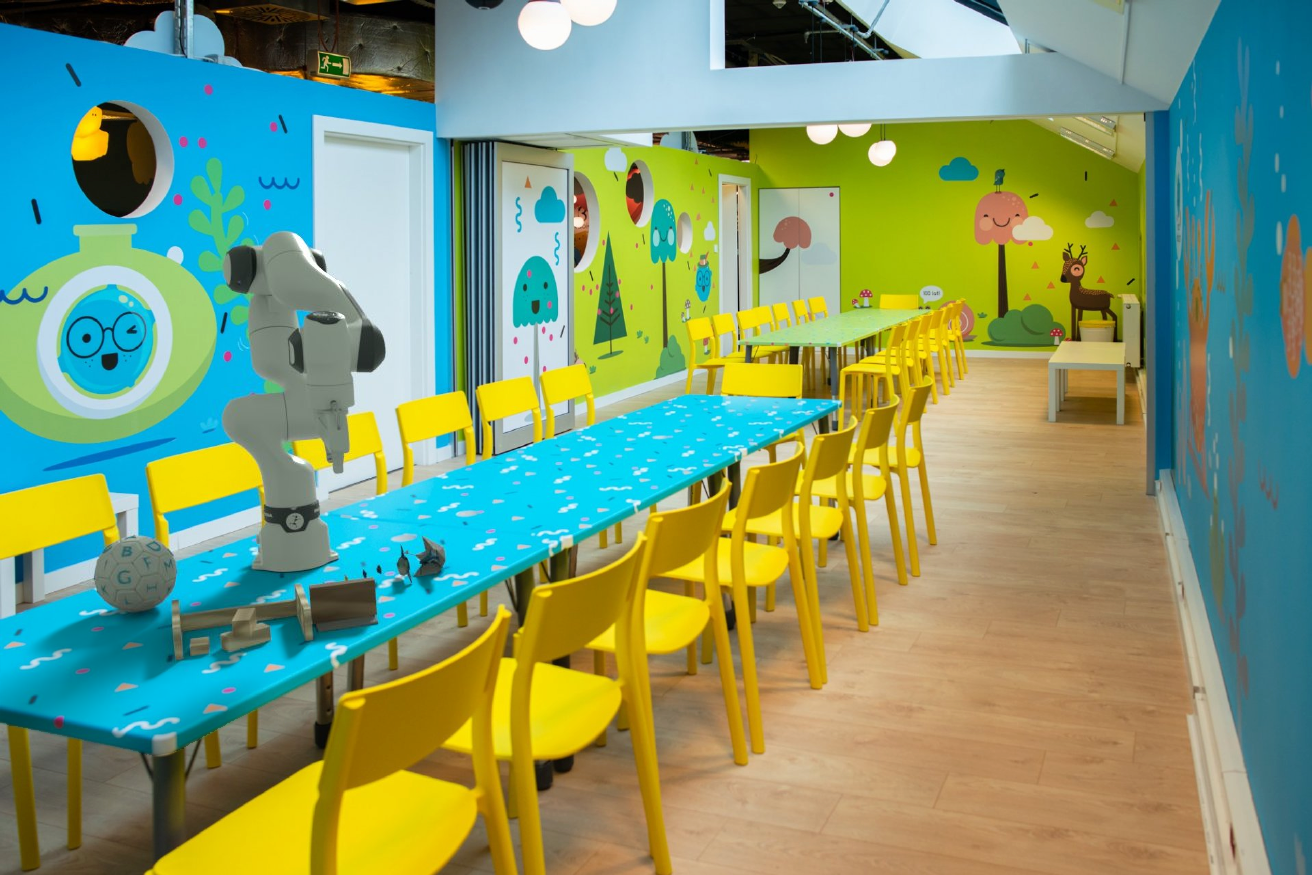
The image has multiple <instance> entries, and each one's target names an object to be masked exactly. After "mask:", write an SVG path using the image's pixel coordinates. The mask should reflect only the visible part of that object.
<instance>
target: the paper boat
mask: <svg viewBox="0 0 1312 875" xmlns="http://www.w3.org/2000/svg"><path fill="white" fill-rule="evenodd" d="M421 537H422V542H423V547H424V550H425V551H422V552H419V553H416V554H413V553H409V549H406V550H405V551H403V552H404V555H405V554H406V555H411V556H415V557H416V558H417V559H418V560H419V561H420V560H421V559H422V558H424V557H425V556H426V555H427V554H428V552H429V550H430V549H431V551H432V552H433V553H435V554H436V549H437V554H438V555H439V561H438V560H437V559H436V560H435V562H438V563H439V564H440V565H441V566H442V567H443V566H444V565H445V563H446V560H447V558H446V551H445V547H444V546H443V545H440V544H438V543H437V542H435V541H433V540H431V539H429V538H427V537H425V536H424V535H421ZM423 564H424V563H422V564H420V567H418V569H417V570H416V571H415V573H414V575H413V576H412V577H413V578H415V577H421V576H422V577H423V576H427V575H433V574H439V573H440V572H441V570H442V569H443V568H444V567H443V568H441V567H440V566H439V565H438V564H434V563H429V564H426V565H424V566H423ZM422 566H423V567H422ZM421 567H422V568H421ZM420 568H421V574H420Z"/></svg>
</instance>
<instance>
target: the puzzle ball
mask: <svg viewBox="0 0 1312 875" xmlns="http://www.w3.org/2000/svg"><path fill="white" fill-rule="evenodd" d="M174 557H175V555H174V554H173V553H172V551H171V549H169V548H168V547H167V546H166V545H165V544H164V543H163V542H162V541H159V540H158V539H156V538H153V537H149V536H147V535H146V536H144V535H135V534H134V535H129V536H125V537H122V538H120V539H117V540H115V541H114V542H111V543H109V544H108V545H107V546H106V547H105V548H104V549H103V550H102V552H101V553H100V555H99V556H98V558H97V560H96V564H95V568H94V575H93V581H94V586H95V589H96V593H97V594H98V595H99V596H100V597H101V599H102V600H103V601H104V602H105V603H106V604H108V605H109V606H111V607H113V608H115V609H117V610H121V611H123V612H128V613H140V612H145V611H148V610H152V609H154V608H156V607H157V606H159V605H160V604H162V603H163V602H165V600H166V599H167V598H168V597H169V596H170V595H171V593H172V592H173V590H174V588H175V586H176V581H177V574H178V567H177V563H176V562H177V561H176V558H174Z"/></svg>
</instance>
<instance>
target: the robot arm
mask: <svg viewBox="0 0 1312 875" xmlns="http://www.w3.org/2000/svg"><path fill="white" fill-rule="evenodd" d="M222 273H223V278H224V280H225V283H226V286H227V287H228V288H229V289H230V291H233V292H234V293H237V294H238V293H239V294H244V295H247V294H253V295H252V296H251V298H250V300H249V304H248V317H247V318H248V319H247V320H248V321H247V324H248V325H247V328H248V340H249V348H250V357H251V358H250V360H251V366H252V369H253V370H254V372H255V373H256V374H257V375H258V376H259V377H260V378H262V379H263V380H266V381H268V382H271V383H273V384H276V385H277V386H278V387H280V388H281V389H282V390H283V391H282V392H269V393H267V392H266V393H255V394H249V395H248V394H247V395H244V396H239V397H236V398H234V399H230V400H229V401H228V403H226V406H225V407H224V409H223V412H222V414H221V422H222V428H223V430H224V432H225V434H226V436H227V437H228V438H229V439H230V440H231V441H232V442H233V443H235V444H237V445H238V446H240V447H242V449H244V450H245V451H247V452H248V454H249V455H250V456H252V458H253V460H254V461H255V462H256V464H257V466H258V469H259V471H260V475H261V481H262V486H263V487H262V488H263V494H264V505H263V511H262V514H263V520H264V521H265V523H264V526H263V527H261V528H260V530H259V532H258V533H257V534H256V535H255V537H256V538H255V539H256V544H257V545H259V547H257V550H258V551H257V554H256V556H255V557H254V559H253V561H252V564H251V569H252V570H265V571H270V572H277V573H278V572H280V573H281V572H282V573H283V572H285V573H286V572H287V573H288V572H297V571H298V572H299V571H304V570H305V571H307V570H311V569H315V568H318V567H320V566H324V565H326V564H328V563H330V562H333V561H335V560H338V559H340V556H339V553H338V552H336V551H335V550H333V549H331V545H330V544H331V543H330V535H329V527H328V524H327V523H326V522H325V521H324V520H322V519H321V518H320V515H321V505H320V500H319V499H318V498H317V485H316V471H315V469H314V466H313V465H312V464H311V462H309V461H308V460H307V459H305V458H302V457H300V456H297V455H294V454H291V453H289V452H287V450H285V449H284V444H285V443H288V442H297V441H298V442H299V441H311V440H319V439H320V440H321V441H322V443H323V445H324V450H325V456H326V462H327V463H329V464H332V471H333V473H334V474H335V475H338V474H339V475H340V474H343V473H344V460H345V454H348V453H350V451H351V450H350V449H351V445H350V433H349V431H350V430H349V423H348V418H347V417H348V416H347V415H348V414H349V408H351V407H354V406H355V401H356V400H355V388H354V387H355V386H354V376H353V374H352V373H373V372H374V371H376V370H377V368H379V366H380V365H381V364H382V363H383V362H384V361H385V358H386V352H387V350H386V349H387V348H386V342H385V339H384V335H383V334H382V330H380V329H379V327H378V326H376V324H374V322H372V321H371V320H370V319H369V318H368V316H367V314H366V313H365V312H364V310H363V309H362V308H361V306H360V305H359V303H358V301H356V299H355V297H354V296H353V295H352V293H351V292H350V290H349V289H348V288H347V287H346V286H345V284H344V283H343V282H342V281H340V280H338V279H337V278H334V277H333V276H331V275H329V273H328V266H327V263H326V259H325V256H324V255H323V253H322V252H321V251H320V250H319V249H316V248H313V247H309V246H308V244H307V243H305V241H304V239H303V238H301V236H299V235H298V234H297V233H294V232H292V231H287V230H286V231H285V230H283V231H277V232H274V233H272V234H270V235H269V236H268V237H267V238H266V239H265V241H264V242H263V243H262V244H261V245H247V244H243V245H237V246H233V247H231V248H230V249H229V250H228V251H226V254H225V257H224V259H223V262H222ZM297 311H300V312H301V311H303V312H309V313H307V315H305V316H304V317H303V318H304V319H303V325H302V326H301V327H300V324H299V319H298V314H297Z"/></svg>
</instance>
